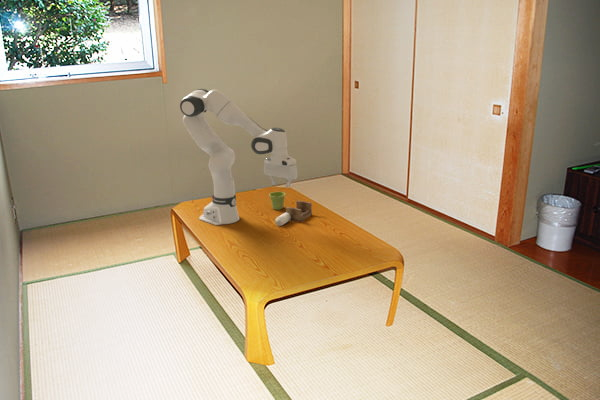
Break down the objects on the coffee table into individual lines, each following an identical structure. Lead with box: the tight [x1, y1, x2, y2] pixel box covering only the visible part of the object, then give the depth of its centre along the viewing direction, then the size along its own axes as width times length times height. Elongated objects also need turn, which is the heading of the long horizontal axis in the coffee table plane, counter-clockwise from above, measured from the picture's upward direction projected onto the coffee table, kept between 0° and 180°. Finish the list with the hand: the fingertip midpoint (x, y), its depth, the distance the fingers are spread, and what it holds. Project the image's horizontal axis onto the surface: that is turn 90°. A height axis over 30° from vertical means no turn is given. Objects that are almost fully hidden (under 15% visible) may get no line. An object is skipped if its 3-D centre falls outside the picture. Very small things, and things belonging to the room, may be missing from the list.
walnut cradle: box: [285, 200, 313, 223], centre depth 292 cm, size 9×13×7 cm
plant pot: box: [268, 191, 286, 211], centre depth 306 cm, size 9×9×9 cm
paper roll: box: [274, 211, 291, 227], centre depth 284 cm, size 8×5×5 cm, turn 151°
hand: (281, 185), depth 276 cm, fingers open, 8 cm apart
